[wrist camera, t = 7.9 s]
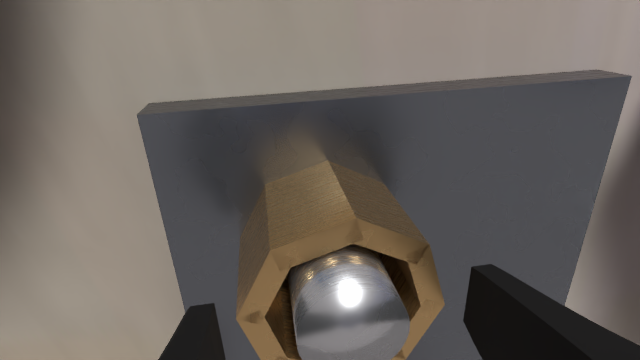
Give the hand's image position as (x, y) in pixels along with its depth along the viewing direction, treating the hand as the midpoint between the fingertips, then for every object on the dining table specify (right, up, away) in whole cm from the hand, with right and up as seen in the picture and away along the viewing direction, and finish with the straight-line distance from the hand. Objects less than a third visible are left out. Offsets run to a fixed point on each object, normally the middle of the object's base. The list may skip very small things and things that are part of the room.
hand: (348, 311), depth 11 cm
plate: (+2, -1, +7) cm, 8 cm away
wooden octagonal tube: (-1, +2, +4) cm, 4 cm away
